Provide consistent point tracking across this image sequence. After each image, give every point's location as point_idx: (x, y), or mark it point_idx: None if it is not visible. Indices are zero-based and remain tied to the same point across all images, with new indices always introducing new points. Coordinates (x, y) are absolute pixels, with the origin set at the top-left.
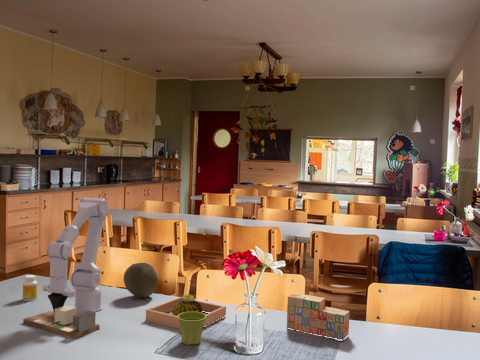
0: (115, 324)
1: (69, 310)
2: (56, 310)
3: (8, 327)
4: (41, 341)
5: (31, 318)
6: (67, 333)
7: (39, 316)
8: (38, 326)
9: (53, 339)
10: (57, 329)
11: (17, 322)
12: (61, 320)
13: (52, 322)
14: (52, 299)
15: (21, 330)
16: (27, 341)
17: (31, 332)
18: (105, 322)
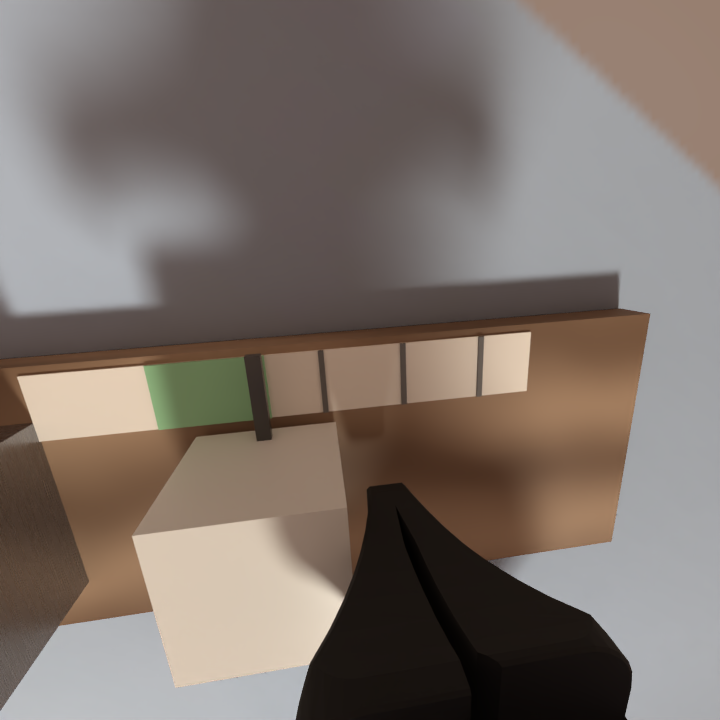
0: (66, 702)
1: (154, 595)
2: (312, 500)
3: (643, 166)
4: (95, 122)
5: (599, 363)
6: (34, 362)
7: (581, 431)
8: (439, 325)
9: (69, 232)
10: (179, 352)
11: (668, 288)
12: (231, 451)
13: (371, 420)
14: (454, 616)
15: (495, 192)
16: (195, 29)
17: (385, 217)
18: (157, 679)
